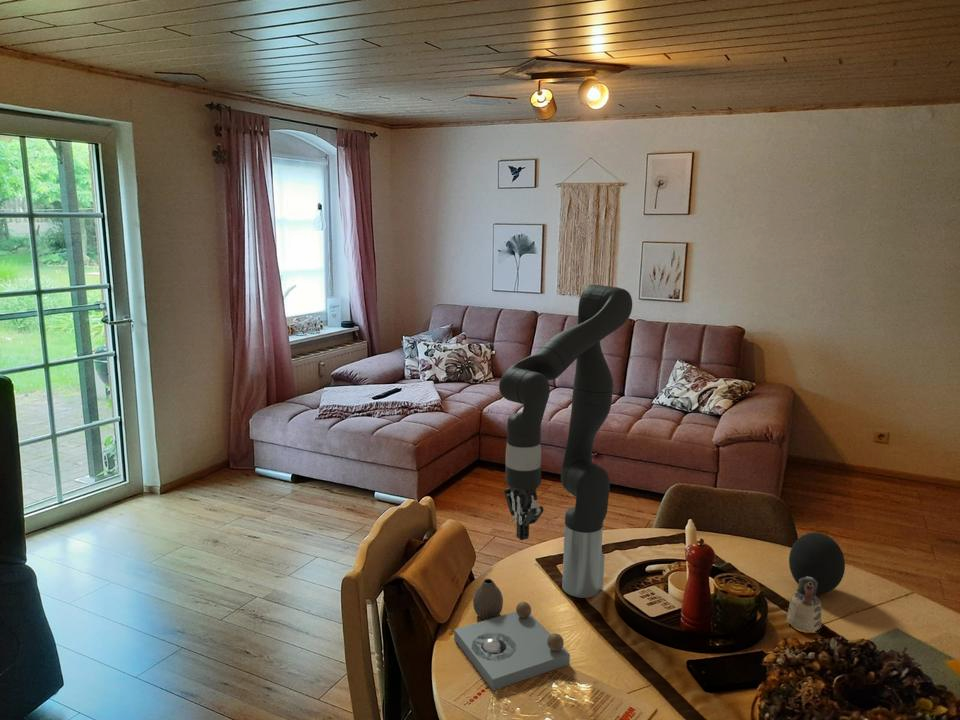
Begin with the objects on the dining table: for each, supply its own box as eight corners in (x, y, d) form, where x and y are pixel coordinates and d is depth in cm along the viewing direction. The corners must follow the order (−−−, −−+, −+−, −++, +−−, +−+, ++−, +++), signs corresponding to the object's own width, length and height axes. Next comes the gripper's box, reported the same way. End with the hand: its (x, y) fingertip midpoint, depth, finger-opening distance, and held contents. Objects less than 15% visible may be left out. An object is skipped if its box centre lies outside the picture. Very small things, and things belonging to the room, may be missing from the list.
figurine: (821, 621, 155) (827, 574, 153) (820, 638, 149) (826, 589, 147) (787, 613, 159) (793, 566, 156) (785, 628, 153) (791, 580, 150)
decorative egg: (794, 601, 163) (801, 544, 160) (780, 575, 175) (786, 521, 172) (848, 606, 162) (856, 549, 158) (830, 579, 173) (838, 525, 170)
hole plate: (525, 618, 155) (525, 608, 155) (569, 664, 140) (569, 653, 139) (454, 639, 147) (454, 629, 147) (492, 690, 132) (492, 679, 131)
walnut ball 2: (557, 642, 143) (558, 628, 142) (566, 651, 140) (567, 637, 139) (543, 647, 141) (544, 632, 140) (552, 656, 138) (553, 641, 137)
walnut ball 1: (526, 610, 154) (526, 597, 153) (533, 618, 151) (534, 605, 150) (513, 614, 152) (513, 601, 152) (520, 622, 149) (521, 608, 149)
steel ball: (481, 633, 142) (477, 650, 143) (488, 645, 139) (483, 662, 139) (499, 633, 144) (495, 650, 144) (505, 645, 140) (501, 662, 141)
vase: (499, 626, 152) (500, 591, 151) (470, 622, 154) (470, 587, 152) (504, 609, 159) (505, 575, 157) (476, 605, 160) (476, 571, 158)
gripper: (556, 469, 138) (554, 547, 142) (522, 449, 149) (521, 522, 153) (524, 476, 134) (523, 555, 138) (492, 455, 146) (492, 529, 150)
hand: (522, 538), depth 146 cm, fingers closed
